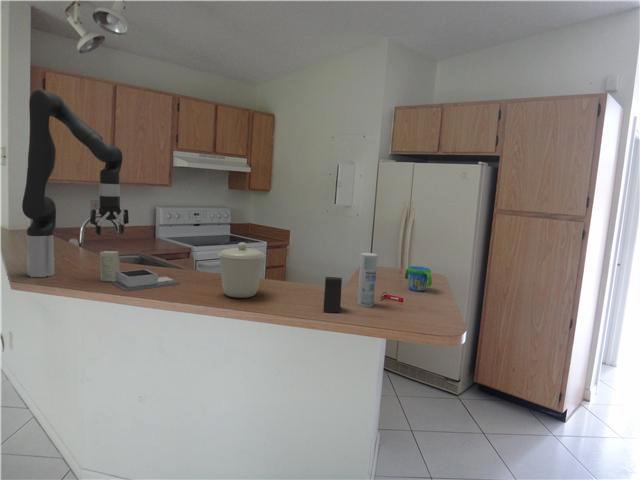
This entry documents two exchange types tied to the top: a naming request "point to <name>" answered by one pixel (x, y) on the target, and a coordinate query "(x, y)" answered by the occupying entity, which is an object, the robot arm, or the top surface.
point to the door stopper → (332, 294)
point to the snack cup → (418, 278)
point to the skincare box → (109, 265)
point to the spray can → (367, 279)
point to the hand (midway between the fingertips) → (109, 234)
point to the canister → (241, 271)
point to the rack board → (141, 280)
